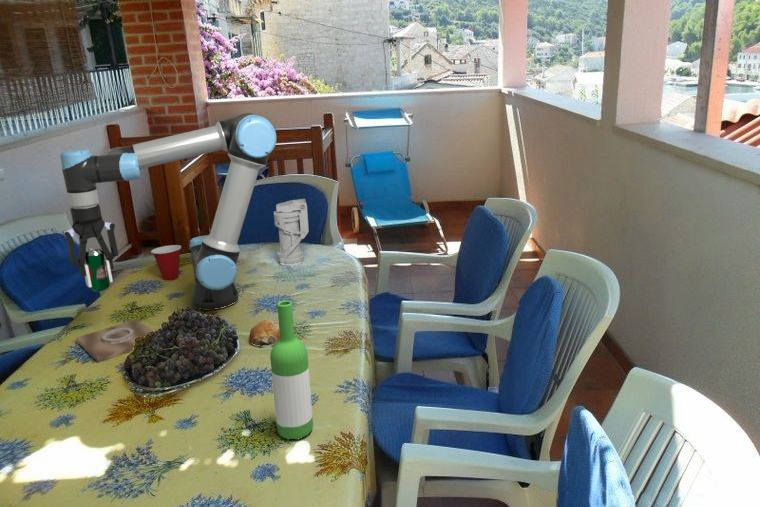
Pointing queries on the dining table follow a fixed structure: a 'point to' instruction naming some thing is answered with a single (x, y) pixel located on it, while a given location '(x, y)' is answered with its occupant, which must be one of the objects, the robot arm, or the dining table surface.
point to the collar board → (113, 340)
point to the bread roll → (265, 332)
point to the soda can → (97, 269)
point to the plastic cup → (168, 261)
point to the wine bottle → (290, 379)
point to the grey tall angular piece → (291, 229)
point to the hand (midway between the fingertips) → (99, 283)
